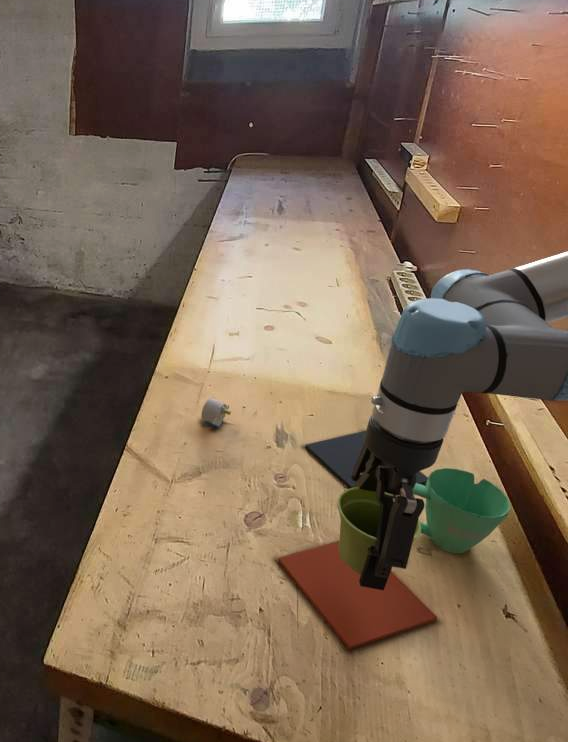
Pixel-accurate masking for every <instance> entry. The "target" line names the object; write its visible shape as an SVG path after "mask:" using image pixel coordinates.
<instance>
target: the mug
mask: <svg viewBox="0 0 568 742" xmlns="http://www.w3.org/2000/svg"><path fill="white" fill-rule="evenodd" d="M427 477H428V479H427V483H426V484H422V485H421V484H418V483H416V484H415V486H414V488H413V494H414V496H417V497H420V498H422V499H425V504H424V509H425V520H426V522H423V521H421V520H420V523H421V533H420V534H423V535H424V536H427V537H428V538H430V540H431V541H432V542H433V543H434V544H435V545H436V546H437V547H439V548H440V549H442V550H444V551H446V552H449V553H452V554H453V553H454V554H463V553H466V552H467V551H469V550H470V549H472V548H473V547H475V546H476V545H478V544H480V543H481V542H482V541H483V540H484V539H486V538H487V537H489V535H491V534H492V532H494V531H495V529H496V528H497V527H498V526H499V525H501V523H502V522H504V520H505V519H507V517H508V516H509V513H510V511H511V503H510V499H509V497H508V496H507V495H506V494H505V493H504V492H503V490H501V489H500V488H499V487H498V486H496V485H495V484H494V483H493V482H491V481H489V480H487V479H486V478H483V479H481V480H480V481H479V482H477V483H475V474H474V473H473V472H471V471H466V470H462V469H459V468H447V467H444V468H437V469H435V470H433V471H431V472H430V473H429V475H428V476H427ZM391 495H393V496H397V495H395V494H391Z"/></svg>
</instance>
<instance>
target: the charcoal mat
mask: <svg viewBox="0 0 568 742" xmlns="http://www.w3.org/2000/svg"><path fill="white" fill-rule="evenodd" d="M365 432H366V430H363V431H362V430H361V431H359V432H354V433H350V434H345V435H342V436H337V437H333V438H328V439H326V440H320V441H316V442H312V443H307V444H305V448H306V450H307V451H308V452H310V453H311V454H312V455H313V456H314V457H315V458H316V459H317V460H318V461H319V462H320V463H322V464H323V465H324V466H325V468H327V469H328V470H329V471H330V472H332V473H333V474H334V476H335V477H337V478H338V479H339V480H340V481H341V482H342V483H343V484H344V485H345V486H346V487H348V489H350V488H353V486H354V485H355V483H356V481H352V479H351V474H352V471H353V469H354V466H355V464H356V462H357V459H358V457H359V454H360V452H361V450H362V447H363V445H364V443H365V441H364V436H365ZM361 474H363V472H362V473H361ZM428 477H429V476H426V475H425V474H424V473H423V472H421V471H419V472H417V473H416V483H418V484H421V485H426V483H427V479H428Z"/></svg>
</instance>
